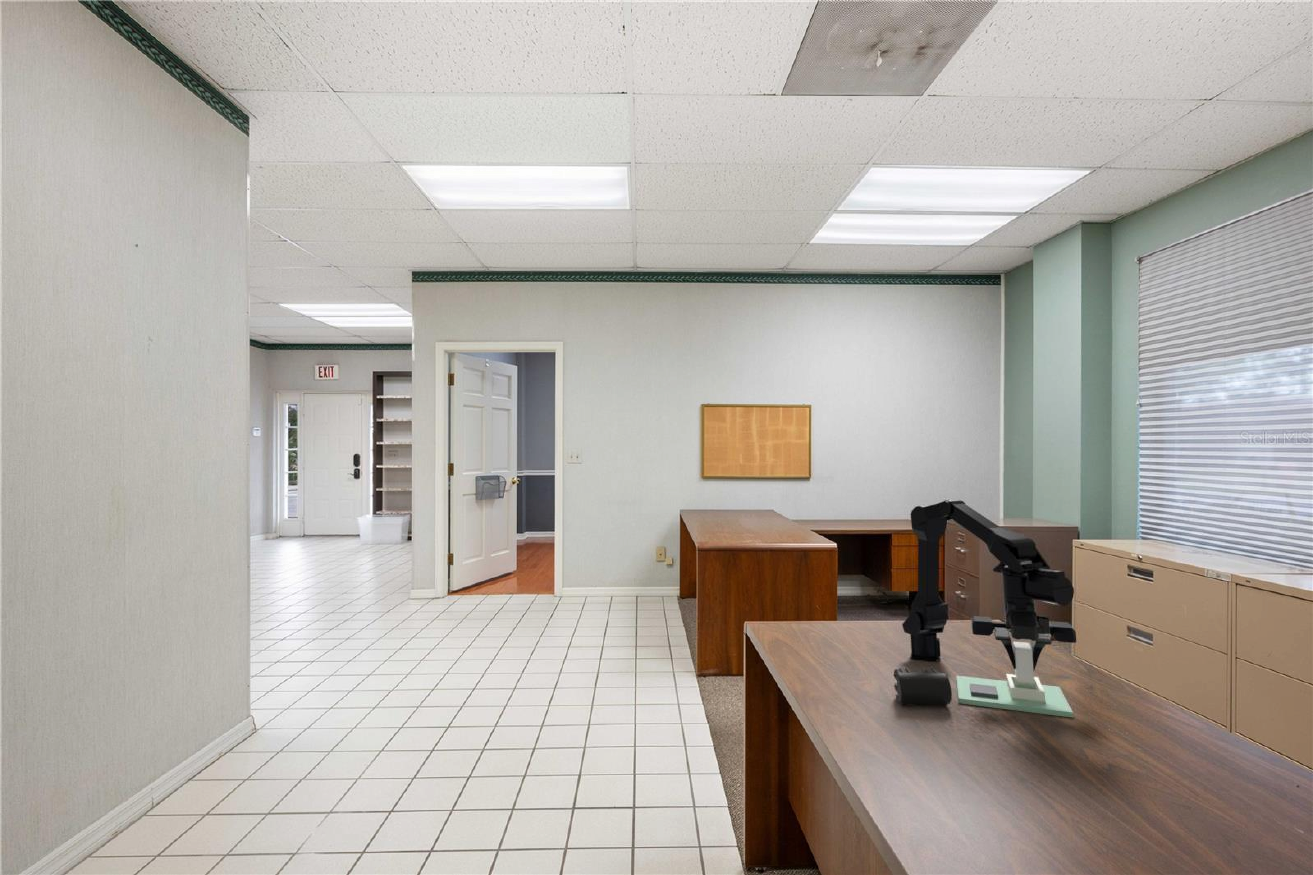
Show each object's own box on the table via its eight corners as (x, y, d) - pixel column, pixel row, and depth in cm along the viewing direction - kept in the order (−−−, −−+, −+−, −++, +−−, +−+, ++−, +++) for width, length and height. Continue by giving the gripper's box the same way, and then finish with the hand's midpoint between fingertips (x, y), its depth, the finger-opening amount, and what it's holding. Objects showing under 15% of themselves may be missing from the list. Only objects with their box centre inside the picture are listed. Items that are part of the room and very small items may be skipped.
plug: (1017, 681, 123) (1015, 648, 123) (1014, 672, 128) (1012, 640, 128) (1034, 683, 121) (1032, 649, 122) (1030, 674, 126) (1028, 641, 127)
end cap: (902, 711, 120) (900, 677, 120) (893, 697, 127) (891, 666, 127) (953, 712, 118) (951, 678, 119) (941, 698, 125) (939, 666, 126)
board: (958, 703, 122) (957, 688, 122) (956, 680, 135) (955, 666, 135) (1073, 717, 114) (1072, 702, 114) (1059, 691, 126) (1058, 677, 126)
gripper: (971, 601, 122) (976, 676, 121) (1079, 607, 114) (1085, 688, 113) (969, 590, 132) (973, 659, 131) (1068, 595, 124) (1073, 669, 123)
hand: (1023, 669), depth 124 cm, fingers closed on plug, 3 cm apart
